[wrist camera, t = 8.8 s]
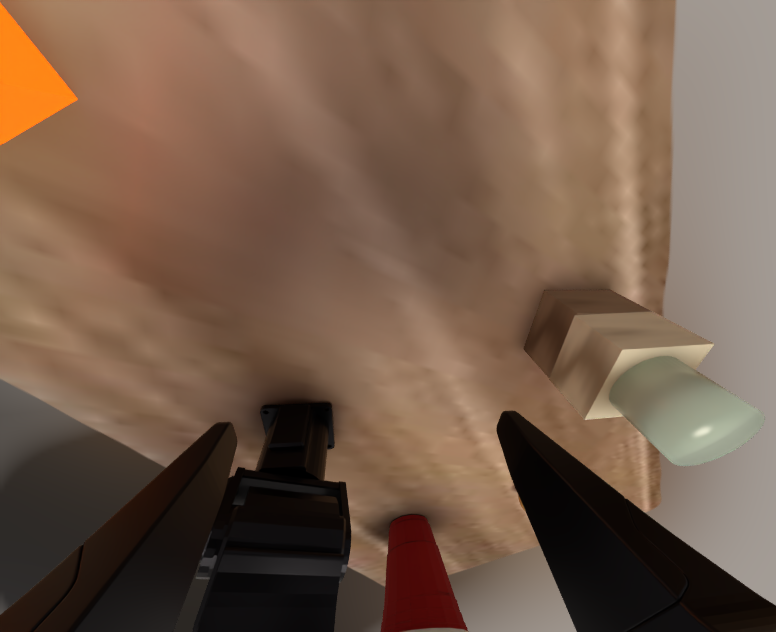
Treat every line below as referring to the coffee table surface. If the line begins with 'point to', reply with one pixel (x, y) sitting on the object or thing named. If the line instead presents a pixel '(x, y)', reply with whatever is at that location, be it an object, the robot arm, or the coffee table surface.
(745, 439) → the stubby sage cylinder
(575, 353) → the birch block
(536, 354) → the walnut block
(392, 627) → the plastic cup
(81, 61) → the coffee table surface
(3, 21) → the orange juice
